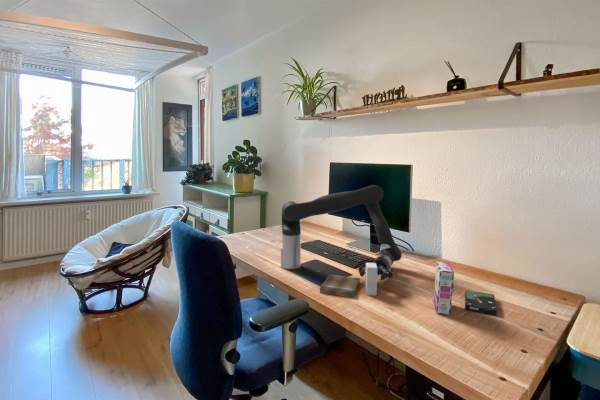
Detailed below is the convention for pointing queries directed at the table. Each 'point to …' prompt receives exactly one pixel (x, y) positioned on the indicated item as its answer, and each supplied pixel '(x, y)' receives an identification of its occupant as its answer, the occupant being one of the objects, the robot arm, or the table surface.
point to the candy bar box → (443, 288)
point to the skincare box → (371, 279)
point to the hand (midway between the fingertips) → (371, 276)
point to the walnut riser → (340, 285)
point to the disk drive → (480, 303)
